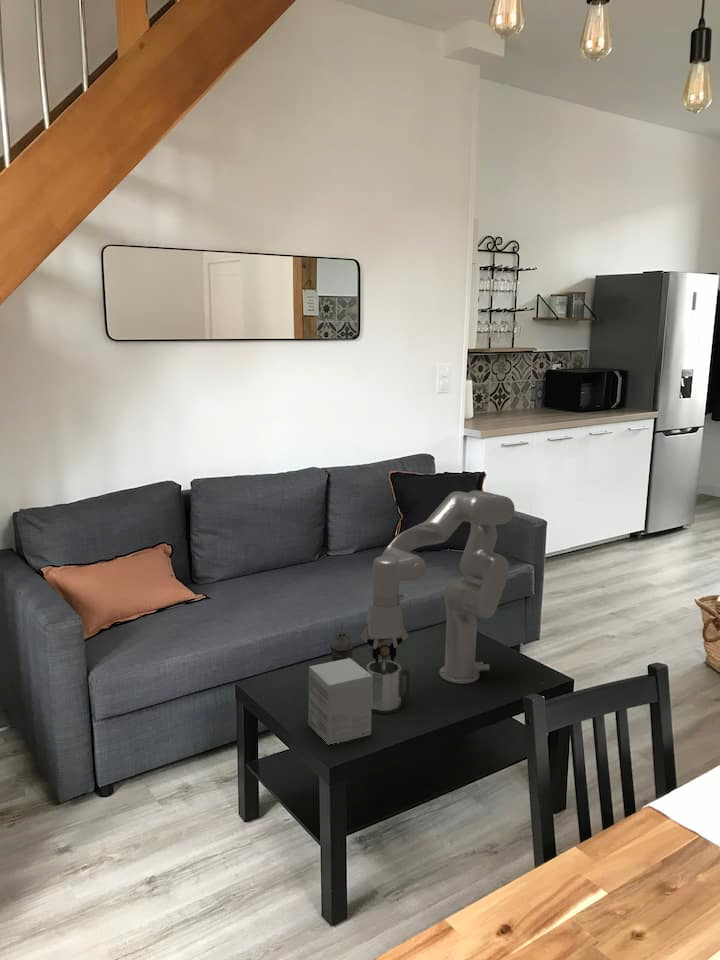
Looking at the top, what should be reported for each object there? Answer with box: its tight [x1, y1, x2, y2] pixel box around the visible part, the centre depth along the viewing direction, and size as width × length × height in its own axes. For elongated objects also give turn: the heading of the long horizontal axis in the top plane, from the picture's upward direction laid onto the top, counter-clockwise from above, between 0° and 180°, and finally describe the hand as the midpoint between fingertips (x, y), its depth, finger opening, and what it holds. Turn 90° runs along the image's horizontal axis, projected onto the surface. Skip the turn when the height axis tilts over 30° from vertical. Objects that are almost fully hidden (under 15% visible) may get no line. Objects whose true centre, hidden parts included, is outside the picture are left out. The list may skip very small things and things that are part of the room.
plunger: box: [377, 642, 391, 674], centre depth 226 cm, size 8×8×16 cm
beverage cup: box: [330, 621, 355, 662], centre depth 241 cm, size 7×7×20 cm
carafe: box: [365, 659, 411, 715], centre depth 227 cm, size 13×10×12 cm
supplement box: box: [307, 658, 372, 746], centre depth 212 cm, size 13×13×18 cm
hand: (384, 659), depth 225 cm, fingers closed on plunger, 4 cm apart
